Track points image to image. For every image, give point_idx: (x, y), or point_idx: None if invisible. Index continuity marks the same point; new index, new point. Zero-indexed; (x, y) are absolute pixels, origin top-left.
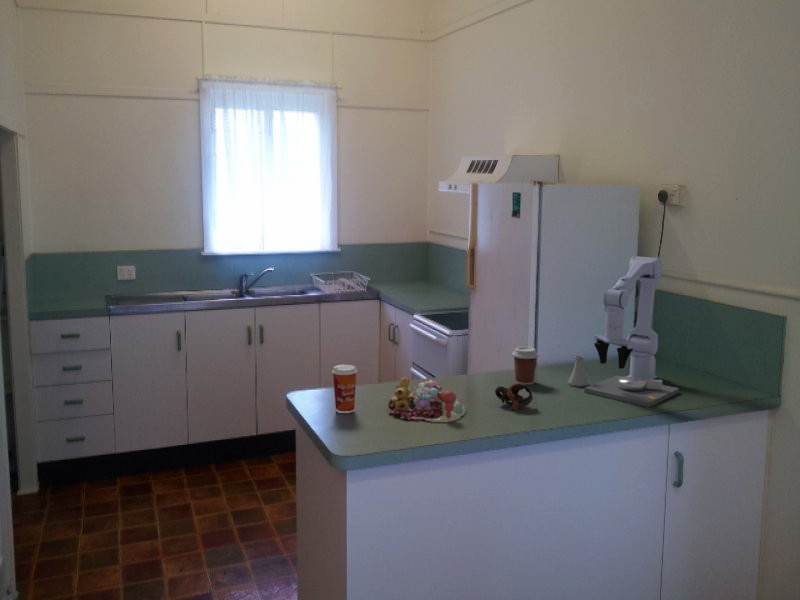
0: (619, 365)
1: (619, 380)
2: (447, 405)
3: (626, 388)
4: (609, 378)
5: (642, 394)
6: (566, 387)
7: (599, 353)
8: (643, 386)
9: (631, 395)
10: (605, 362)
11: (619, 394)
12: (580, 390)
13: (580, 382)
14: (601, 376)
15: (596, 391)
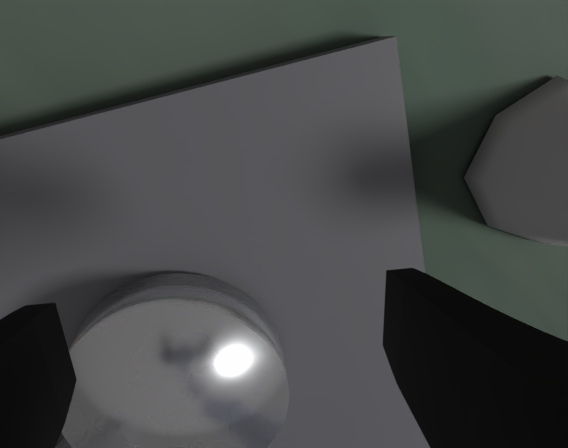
0: (5, 323)
1: (222, 316)
2: None
3: (134, 287)
4: None
5: None
6: (564, 10)
7: (516, 339)
8: None
9: (16, 226)
10: (385, 341)
11: (82, 159)
12: (436, 50)
13: (517, 134)
14: None
15: (273, 66)
